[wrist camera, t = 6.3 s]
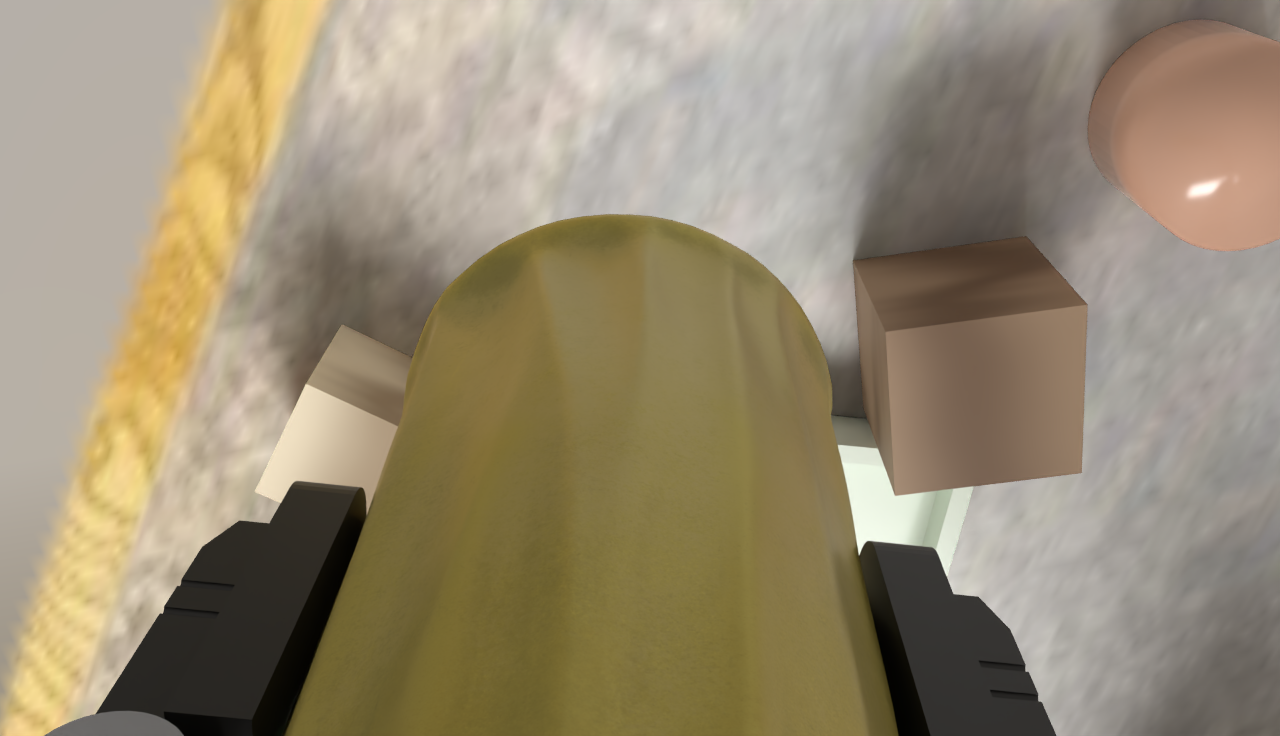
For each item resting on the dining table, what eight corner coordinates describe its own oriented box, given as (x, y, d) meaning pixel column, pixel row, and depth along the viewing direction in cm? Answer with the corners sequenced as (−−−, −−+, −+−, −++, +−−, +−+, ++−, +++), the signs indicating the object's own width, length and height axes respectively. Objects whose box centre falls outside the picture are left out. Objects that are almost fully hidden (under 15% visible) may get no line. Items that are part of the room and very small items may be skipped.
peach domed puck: (1302, 30, 29) (1394, 60, 25) (1235, 209, 31) (1311, 260, 28) (1119, 8, 29) (1185, 36, 25) (1065, 190, 31) (1118, 239, 27)
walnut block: (1025, 235, 32) (1087, 304, 27) (1024, 386, 34) (1081, 473, 29) (852, 259, 32) (885, 331, 28) (863, 407, 34) (895, 495, 30)
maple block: (520, 407, 34) (505, 476, 31) (466, 499, 36) (446, 575, 32) (343, 322, 33) (306, 383, 30) (295, 421, 35) (254, 492, 31)
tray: (966, 428, 34) (982, 459, 33) (879, 735, 40) (888, 773, 39) (549, 387, 34) (544, 415, 32) (523, 704, 40) (517, 741, 38)
